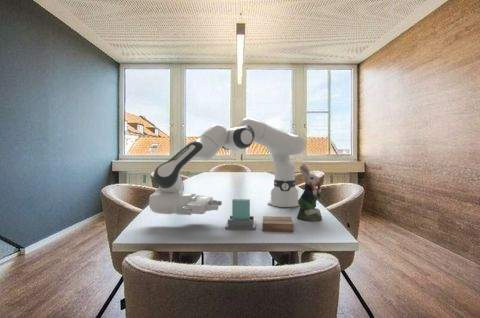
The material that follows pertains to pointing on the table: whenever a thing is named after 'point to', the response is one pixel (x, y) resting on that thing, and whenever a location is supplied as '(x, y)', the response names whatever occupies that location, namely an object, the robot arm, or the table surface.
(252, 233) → the table surface
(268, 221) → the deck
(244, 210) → the sign block
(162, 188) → the robot arm
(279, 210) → the table surface
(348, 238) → the table surface
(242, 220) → the rack
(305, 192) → the figurine
